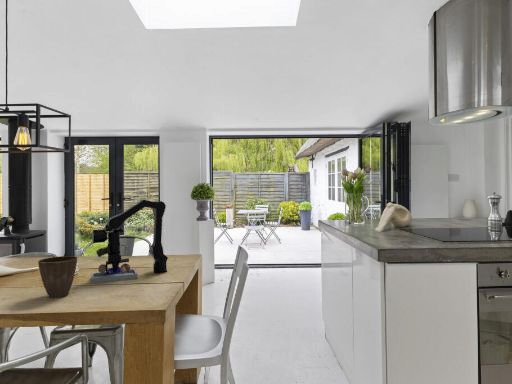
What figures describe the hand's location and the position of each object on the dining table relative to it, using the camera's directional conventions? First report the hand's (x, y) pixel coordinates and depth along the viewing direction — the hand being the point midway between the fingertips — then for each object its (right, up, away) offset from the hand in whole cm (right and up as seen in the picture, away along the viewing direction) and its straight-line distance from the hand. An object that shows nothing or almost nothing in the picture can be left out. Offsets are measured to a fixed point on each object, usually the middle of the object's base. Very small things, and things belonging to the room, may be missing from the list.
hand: (114, 271), depth 175 cm
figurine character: (0, -2, 0) cm, 2 cm away
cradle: (0, -4, 0) cm, 4 cm away
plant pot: (-12, -4, -29) cm, 31 cm away
